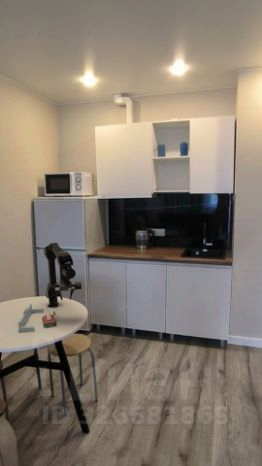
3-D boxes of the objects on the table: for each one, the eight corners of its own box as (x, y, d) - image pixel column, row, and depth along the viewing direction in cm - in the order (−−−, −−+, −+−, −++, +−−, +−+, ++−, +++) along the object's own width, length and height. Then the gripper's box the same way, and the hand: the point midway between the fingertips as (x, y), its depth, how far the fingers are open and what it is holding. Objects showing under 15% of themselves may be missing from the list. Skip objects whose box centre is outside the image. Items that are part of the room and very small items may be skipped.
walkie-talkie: (60, 327, 179) (55, 313, 198) (59, 319, 179) (55, 306, 197) (44, 329, 177) (41, 316, 195) (43, 322, 176) (40, 309, 194)
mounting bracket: (30, 312, 199) (29, 302, 198) (43, 312, 200) (42, 301, 199) (19, 332, 173) (18, 320, 172) (34, 331, 174) (33, 319, 173)
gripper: (45, 279, 175) (47, 306, 178) (80, 277, 176) (81, 304, 179) (49, 273, 186) (51, 299, 188) (81, 272, 187) (82, 297, 190)
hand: (66, 300), depth 186 cm, fingers open, 5 cm apart
